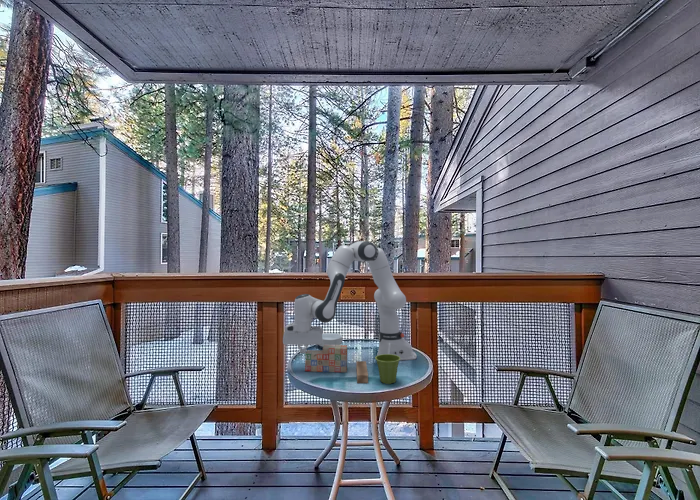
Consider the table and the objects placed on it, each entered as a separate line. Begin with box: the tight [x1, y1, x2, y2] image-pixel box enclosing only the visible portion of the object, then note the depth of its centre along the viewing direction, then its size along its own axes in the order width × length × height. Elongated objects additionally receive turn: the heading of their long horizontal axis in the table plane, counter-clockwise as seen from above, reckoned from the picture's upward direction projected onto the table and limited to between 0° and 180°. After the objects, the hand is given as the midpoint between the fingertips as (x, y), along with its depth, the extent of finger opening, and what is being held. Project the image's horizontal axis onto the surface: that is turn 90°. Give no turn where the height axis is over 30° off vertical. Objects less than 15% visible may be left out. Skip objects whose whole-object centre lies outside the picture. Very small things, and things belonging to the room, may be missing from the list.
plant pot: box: [374, 354, 401, 385], centre depth 168 cm, size 12×12×11 cm
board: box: [355, 360, 369, 384], centre depth 176 cm, size 5×20×4 cm, turn 0°
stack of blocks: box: [304, 344, 348, 373], centre depth 183 cm, size 21×6×12 cm, turn 87°
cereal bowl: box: [319, 332, 343, 348], centre depth 224 cm, size 17×17×7 cm
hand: (303, 352), depth 183 cm, fingers closed
